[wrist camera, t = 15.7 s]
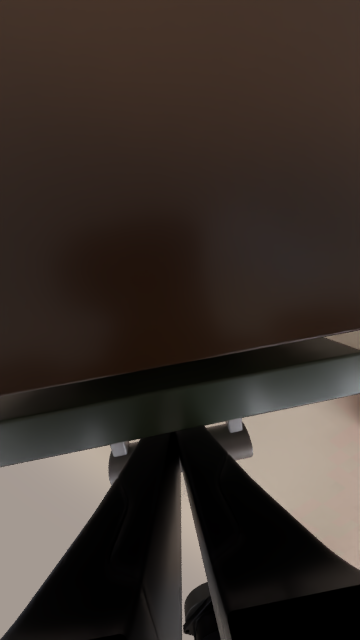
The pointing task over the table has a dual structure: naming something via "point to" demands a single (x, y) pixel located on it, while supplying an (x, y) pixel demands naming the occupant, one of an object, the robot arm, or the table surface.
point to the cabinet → (174, 182)
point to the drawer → (175, 401)
